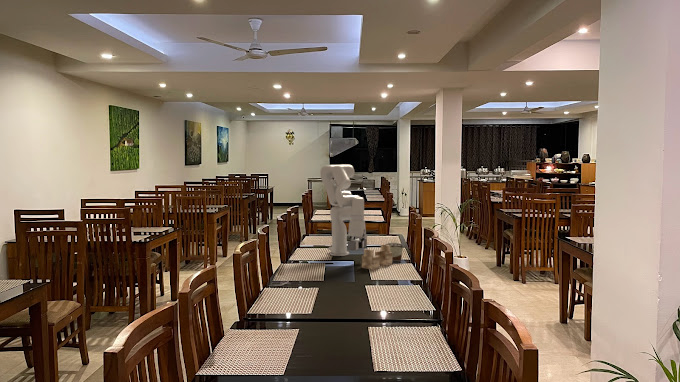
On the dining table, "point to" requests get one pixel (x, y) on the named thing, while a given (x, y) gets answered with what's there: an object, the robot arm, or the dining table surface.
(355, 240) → the bed rail
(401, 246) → the food container
